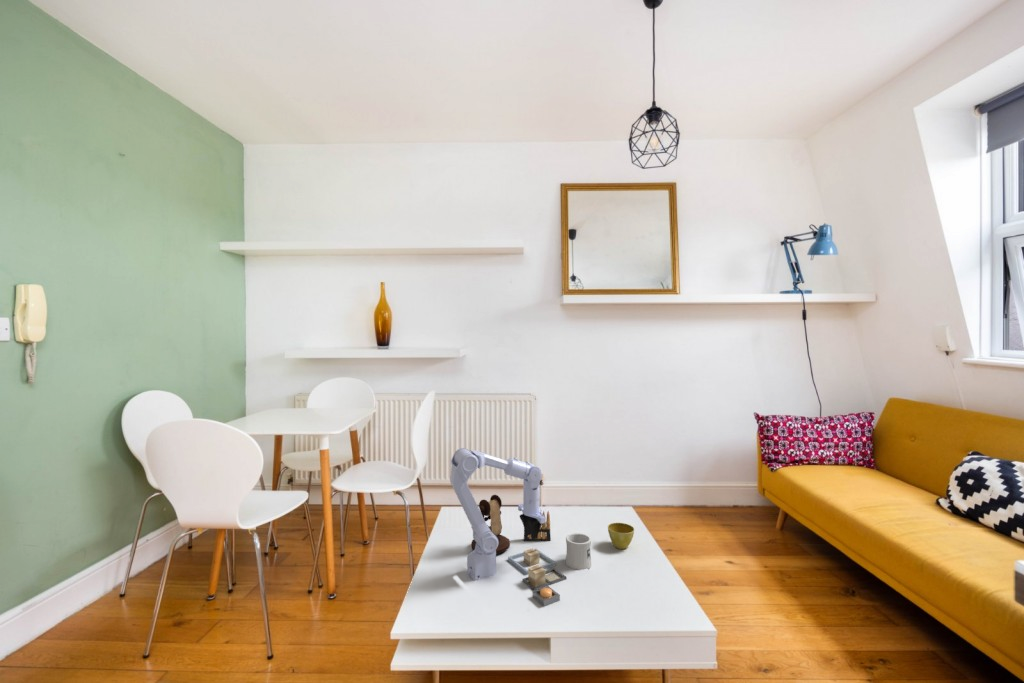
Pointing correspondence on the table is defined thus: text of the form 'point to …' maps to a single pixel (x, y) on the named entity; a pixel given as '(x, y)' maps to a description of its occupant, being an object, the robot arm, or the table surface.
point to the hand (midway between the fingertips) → (531, 536)
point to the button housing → (547, 601)
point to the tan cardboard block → (531, 557)
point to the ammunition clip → (544, 529)
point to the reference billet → (536, 575)
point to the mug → (578, 551)
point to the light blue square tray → (510, 558)
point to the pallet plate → (547, 579)
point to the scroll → (493, 521)
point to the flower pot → (620, 534)
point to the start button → (545, 592)
